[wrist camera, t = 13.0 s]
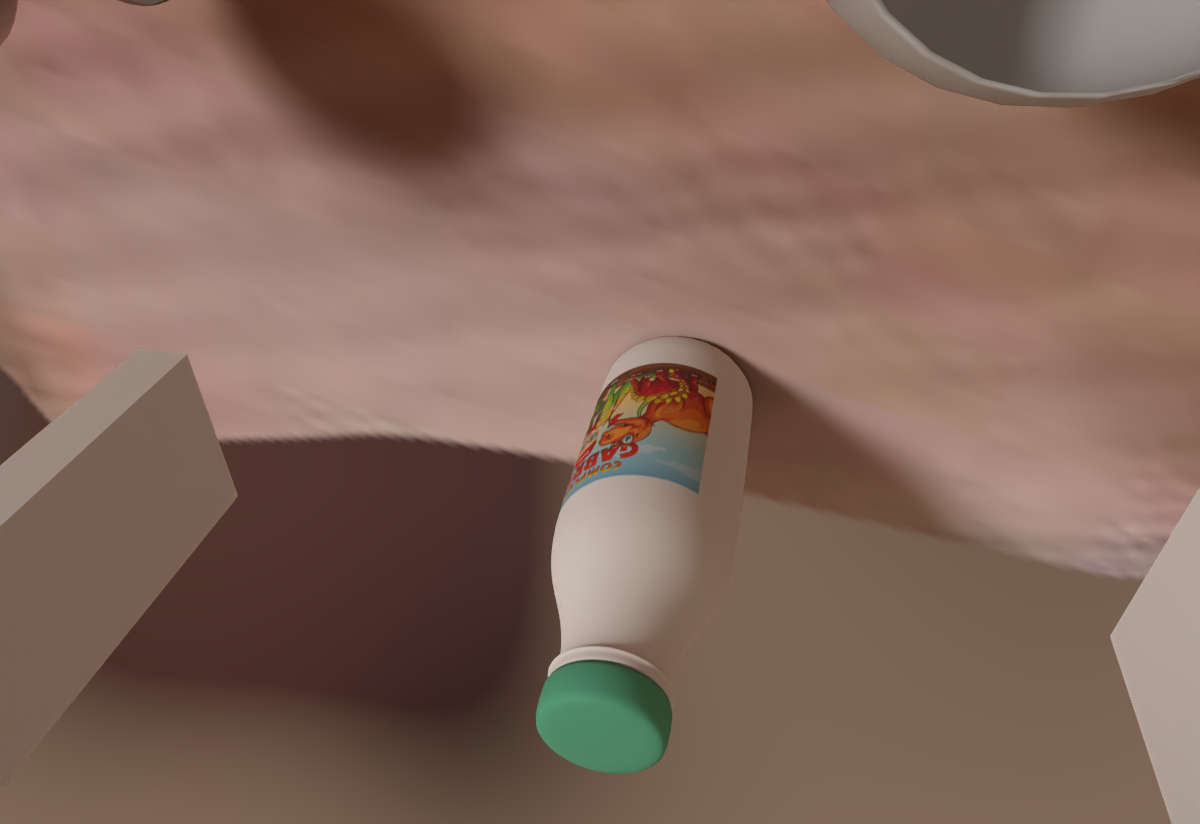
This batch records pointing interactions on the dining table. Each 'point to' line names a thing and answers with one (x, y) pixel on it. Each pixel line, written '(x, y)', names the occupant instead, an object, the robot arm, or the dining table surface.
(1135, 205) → the dining table surface
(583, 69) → the dining table surface
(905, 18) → the chalice
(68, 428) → the robot arm
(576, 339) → the dining table surface
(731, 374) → the milk bottle
